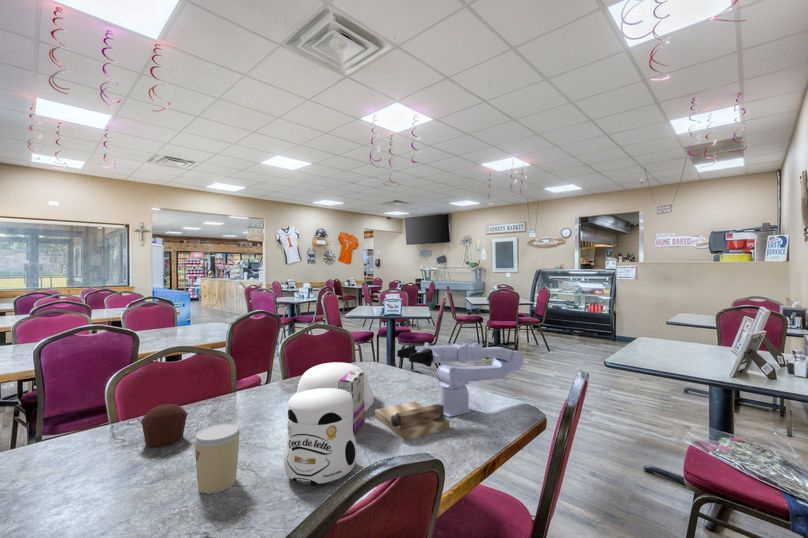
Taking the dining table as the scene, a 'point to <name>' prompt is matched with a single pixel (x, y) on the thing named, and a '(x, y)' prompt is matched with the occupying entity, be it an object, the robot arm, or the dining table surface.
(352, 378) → the candy bar box
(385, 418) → the stool seat
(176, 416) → the muffin
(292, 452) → the doce de leite jar
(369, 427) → the dining table surface
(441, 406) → the stool leg
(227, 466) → the coffee cup
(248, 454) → the dining table surface
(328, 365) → the dome cover
